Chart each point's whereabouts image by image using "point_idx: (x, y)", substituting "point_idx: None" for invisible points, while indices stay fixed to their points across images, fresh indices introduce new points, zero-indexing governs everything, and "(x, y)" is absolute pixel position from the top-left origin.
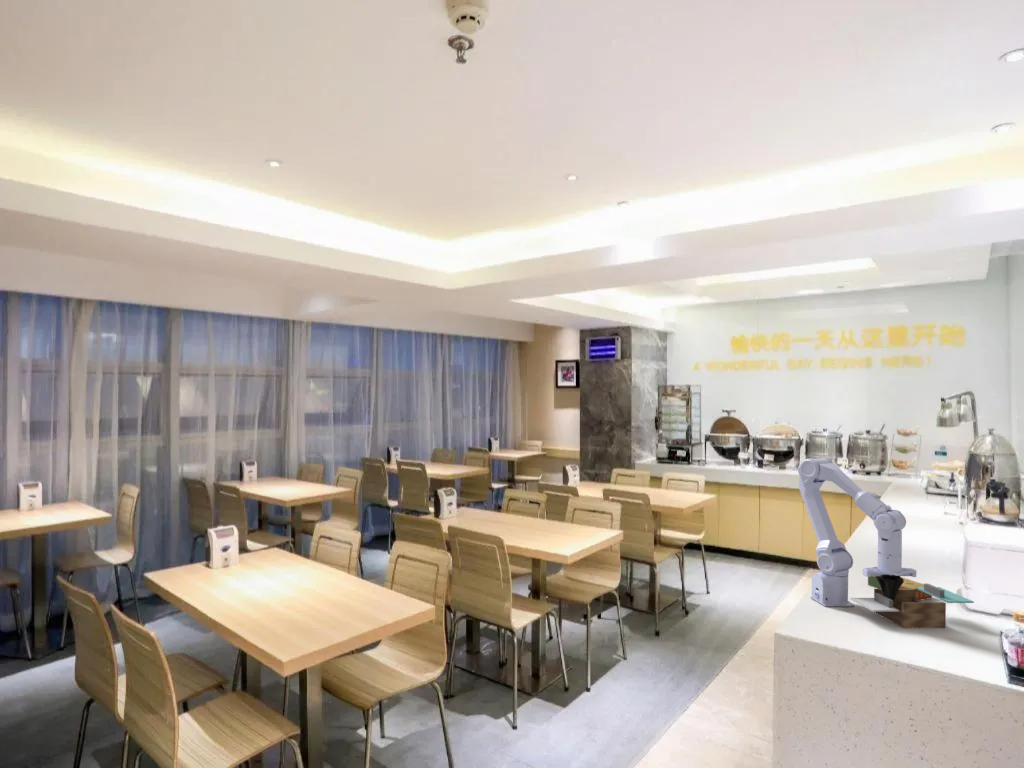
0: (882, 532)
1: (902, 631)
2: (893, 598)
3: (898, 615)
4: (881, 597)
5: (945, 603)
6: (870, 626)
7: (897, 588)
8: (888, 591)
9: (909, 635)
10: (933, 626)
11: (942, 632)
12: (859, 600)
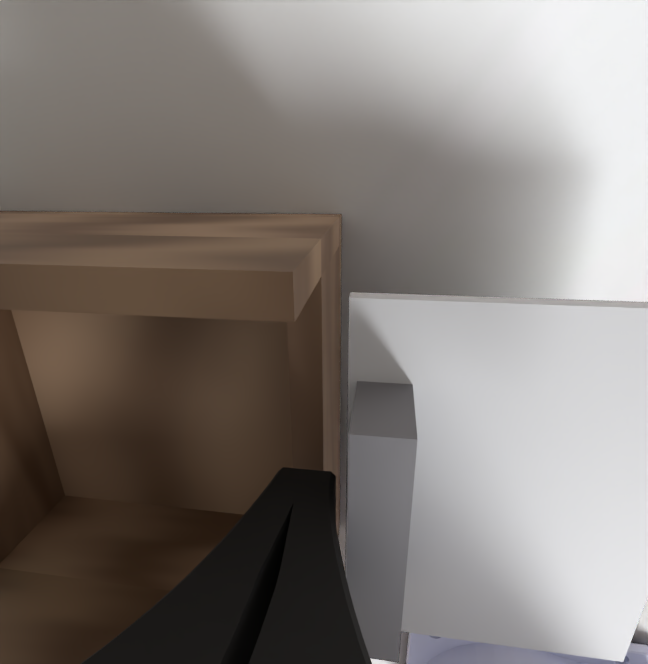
0: None
1: (411, 136)
2: (280, 498)
3: (328, 311)
4: (407, 556)
5: None
6: (645, 268)
7: (169, 625)
8: (348, 601)
9: (420, 19)
10: (63, 212)
11: (44, 114)
12: (586, 596)
